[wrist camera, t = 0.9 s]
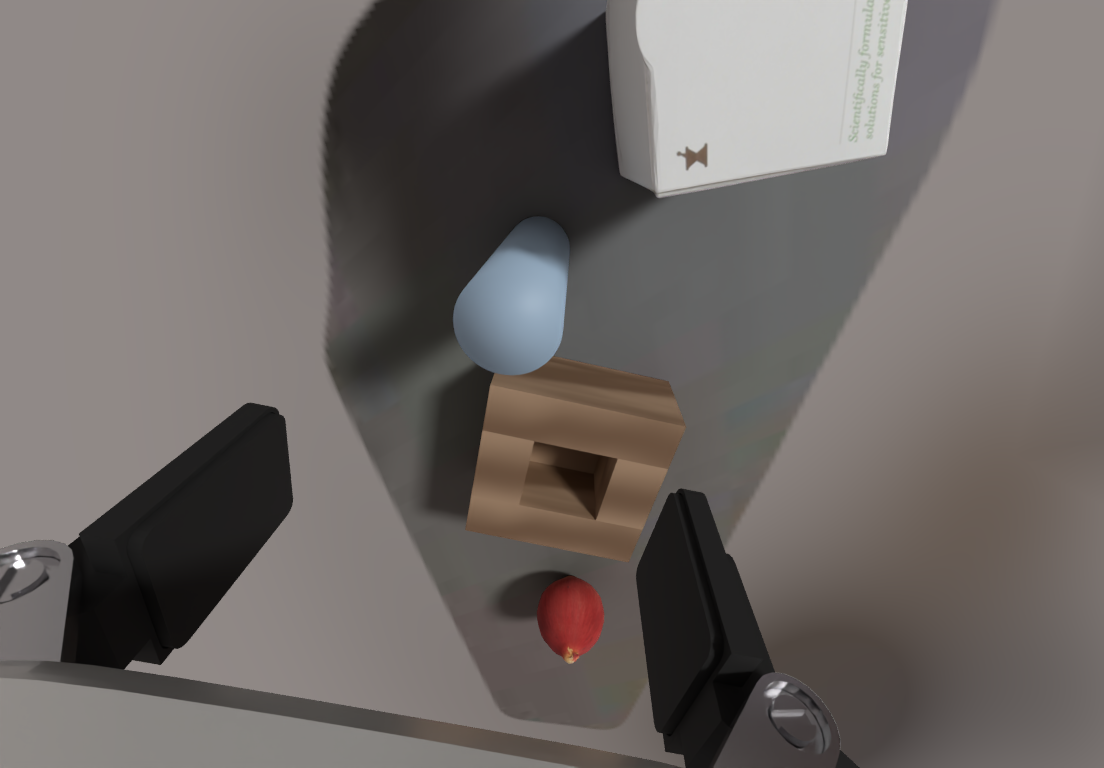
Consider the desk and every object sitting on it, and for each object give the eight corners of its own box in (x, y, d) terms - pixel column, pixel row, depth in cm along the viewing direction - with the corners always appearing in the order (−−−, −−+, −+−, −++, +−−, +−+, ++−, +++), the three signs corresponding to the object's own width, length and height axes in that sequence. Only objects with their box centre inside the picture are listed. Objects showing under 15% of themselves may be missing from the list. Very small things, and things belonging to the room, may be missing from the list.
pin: (513, 209, 28) (459, 258, 15) (576, 224, 28) (574, 284, 16) (502, 273, 30) (447, 362, 17) (562, 286, 30) (550, 385, 17)
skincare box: (727, 160, 26) (896, 173, 12) (611, 180, 27) (647, 212, 13) (730, -28, 22) (981, -321, 8) (595, 1, 23) (622, -224, 9)
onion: (594, 603, 44) (597, 690, 37) (536, 593, 44) (527, 679, 37) (608, 562, 41) (614, 648, 34) (546, 551, 41) (539, 635, 34)
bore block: (505, 345, 32) (490, 384, 27) (668, 381, 33) (686, 426, 27) (481, 475, 37) (465, 530, 32) (621, 504, 38) (628, 562, 33)
